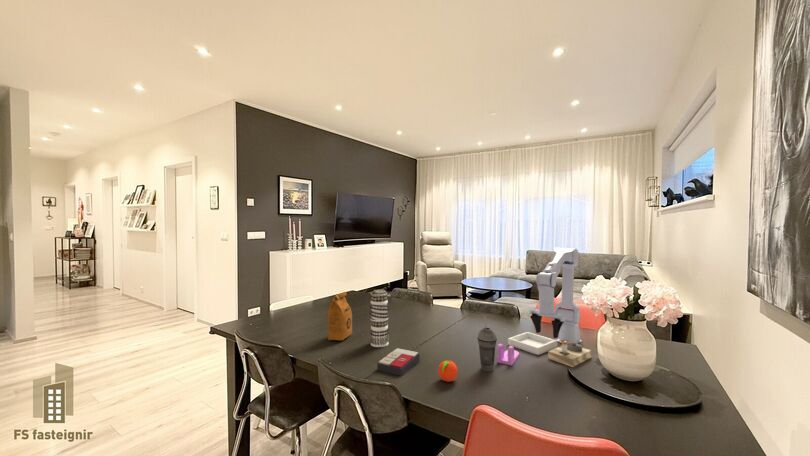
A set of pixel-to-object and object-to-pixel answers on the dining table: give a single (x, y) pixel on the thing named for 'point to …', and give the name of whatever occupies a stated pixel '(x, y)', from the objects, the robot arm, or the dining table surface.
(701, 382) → the dining table surface
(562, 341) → the pin
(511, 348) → the bracket
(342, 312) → the coffee package
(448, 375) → the clementine
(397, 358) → the flat product box
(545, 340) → the tray
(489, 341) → the beverage cup
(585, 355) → the block
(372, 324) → the grey striped cylinder
